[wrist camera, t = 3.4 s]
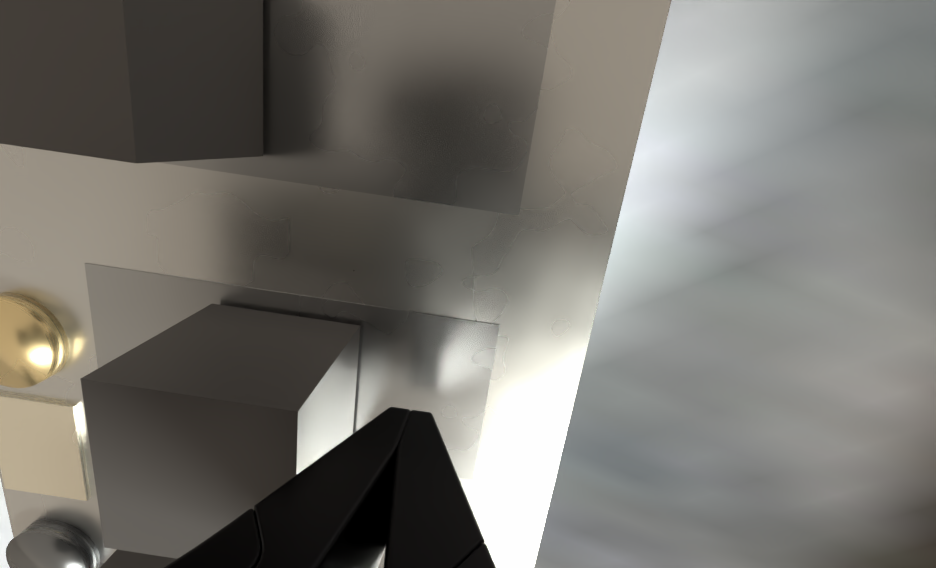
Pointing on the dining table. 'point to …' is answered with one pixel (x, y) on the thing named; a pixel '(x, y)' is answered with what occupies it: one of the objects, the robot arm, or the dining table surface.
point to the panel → (348, 242)
